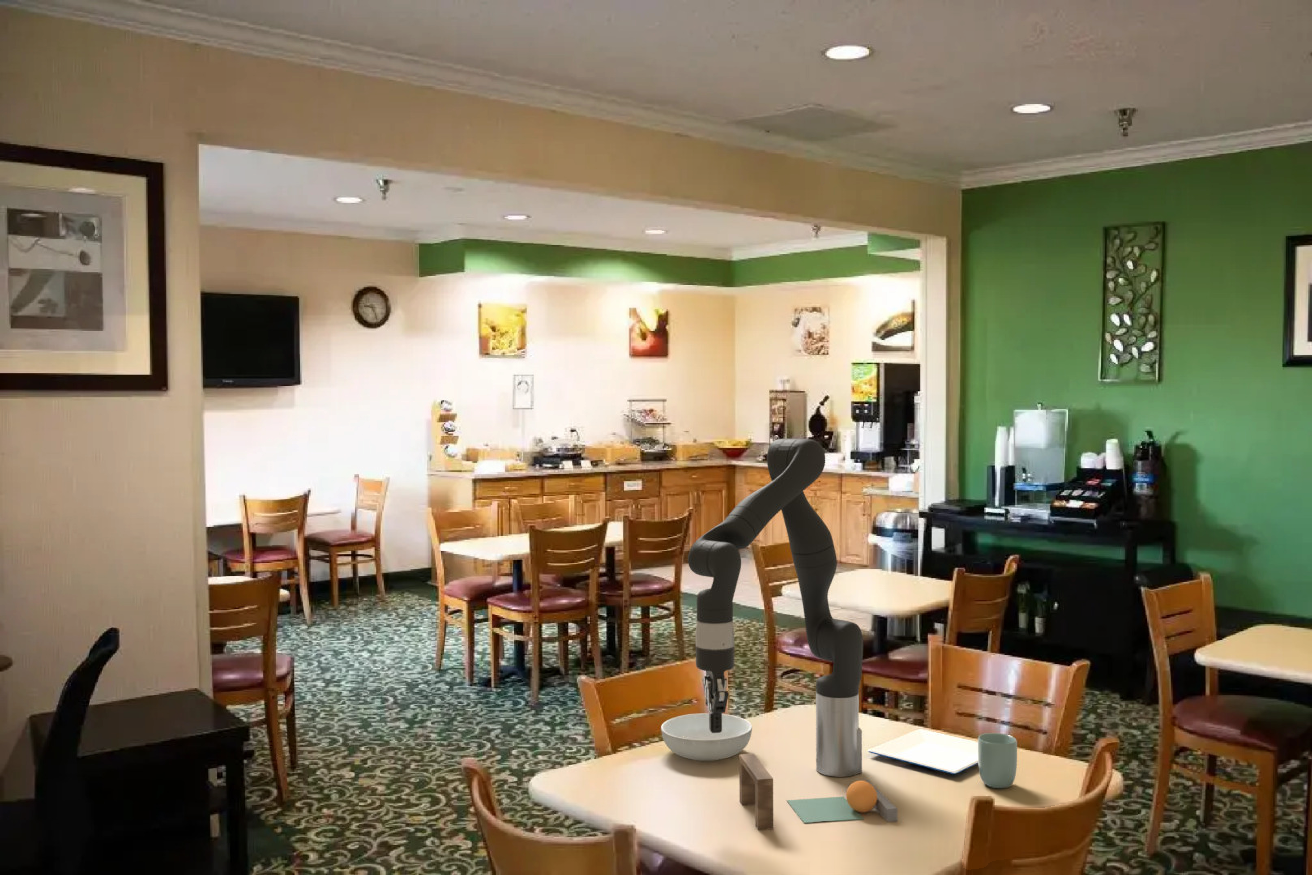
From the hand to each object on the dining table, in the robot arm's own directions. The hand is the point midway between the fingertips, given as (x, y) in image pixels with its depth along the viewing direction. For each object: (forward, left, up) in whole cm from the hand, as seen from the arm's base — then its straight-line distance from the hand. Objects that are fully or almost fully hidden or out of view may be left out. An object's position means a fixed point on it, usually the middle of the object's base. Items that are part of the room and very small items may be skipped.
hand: (715, 731), depth 216 cm
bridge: (-8, 0, -17) cm, 19 cm away
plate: (-57, -27, -18) cm, 65 cm away
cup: (-62, -7, -17) cm, 65 cm away
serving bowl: (-6, -38, -17) cm, 42 cm away
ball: (-29, +2, -14) cm, 32 cm away
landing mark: (-22, 0, -17) cm, 28 cm away
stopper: (-33, 0, -17) cm, 37 cm away
